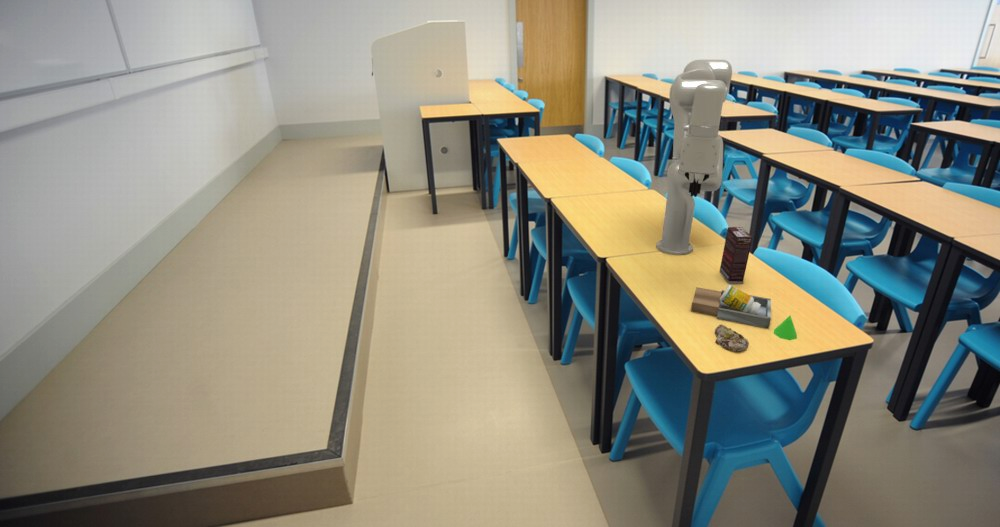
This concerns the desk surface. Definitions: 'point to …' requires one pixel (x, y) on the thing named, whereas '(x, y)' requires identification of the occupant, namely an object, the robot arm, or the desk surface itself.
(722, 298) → the supplement bottle
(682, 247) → the robot arm
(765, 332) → the desk surface
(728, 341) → the mineral rock
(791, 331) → the gemstone
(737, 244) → the supplement box
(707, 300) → the tray
